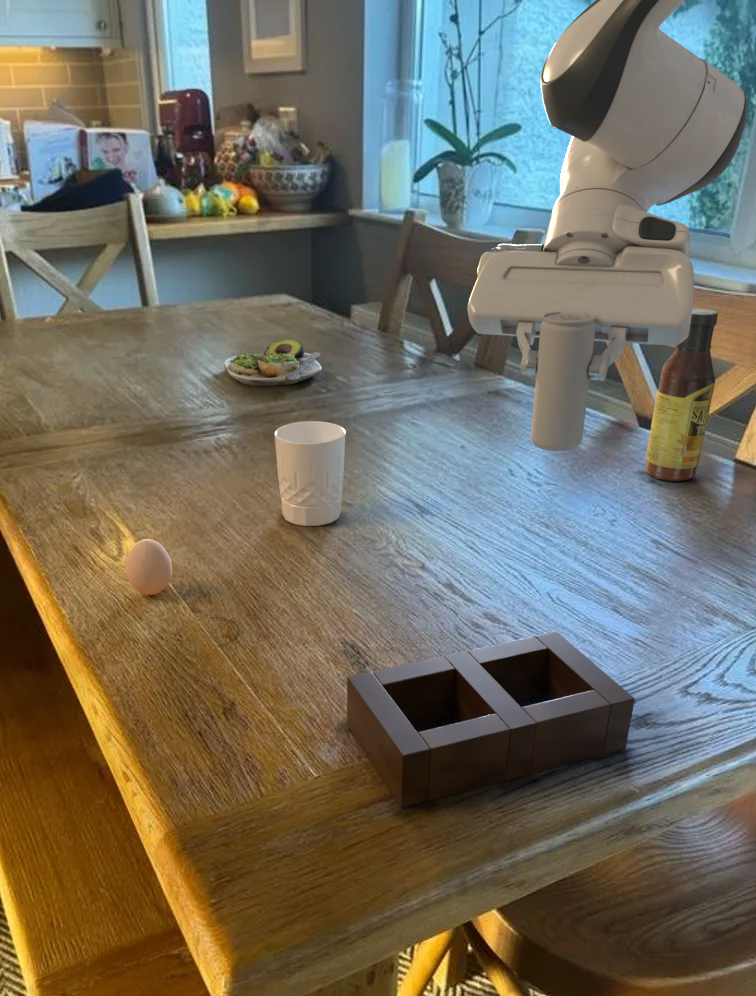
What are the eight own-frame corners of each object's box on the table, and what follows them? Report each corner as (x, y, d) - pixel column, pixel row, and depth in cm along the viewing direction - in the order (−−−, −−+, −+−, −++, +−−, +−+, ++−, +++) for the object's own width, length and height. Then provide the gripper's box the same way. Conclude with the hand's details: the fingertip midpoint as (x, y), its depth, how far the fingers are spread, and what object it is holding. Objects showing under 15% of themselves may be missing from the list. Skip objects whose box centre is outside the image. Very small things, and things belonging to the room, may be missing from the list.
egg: (180, 584, 90) (175, 532, 88) (165, 605, 87) (159, 552, 84) (139, 580, 91) (132, 529, 89) (121, 601, 88) (114, 548, 85)
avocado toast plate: (338, 386, 152) (338, 359, 149) (232, 394, 149) (231, 366, 147) (316, 358, 168) (316, 333, 166) (221, 365, 166) (219, 339, 164)
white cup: (286, 500, 109) (283, 419, 104) (350, 504, 107) (350, 422, 103) (270, 526, 102) (266, 441, 97) (339, 531, 101) (338, 445, 96)
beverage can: (590, 450, 85) (606, 320, 79) (541, 454, 84) (554, 323, 79) (568, 434, 89) (582, 309, 84) (522, 438, 89) (533, 313, 83)
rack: (550, 677, 74) (556, 631, 72) (626, 749, 66) (635, 698, 64) (346, 725, 69) (346, 676, 67) (401, 808, 61) (403, 756, 59)
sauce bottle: (689, 487, 109) (722, 319, 100) (637, 478, 113) (664, 314, 103) (701, 470, 114) (734, 308, 105) (651, 462, 117) (678, 304, 108)
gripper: (479, 222, 87) (447, 348, 84) (708, 226, 80) (681, 364, 76) (488, 264, 93) (457, 383, 90) (701, 271, 85) (676, 401, 82)
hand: (562, 374), depth 83 cm, fingers closed on beverage can, 5 cm apart
